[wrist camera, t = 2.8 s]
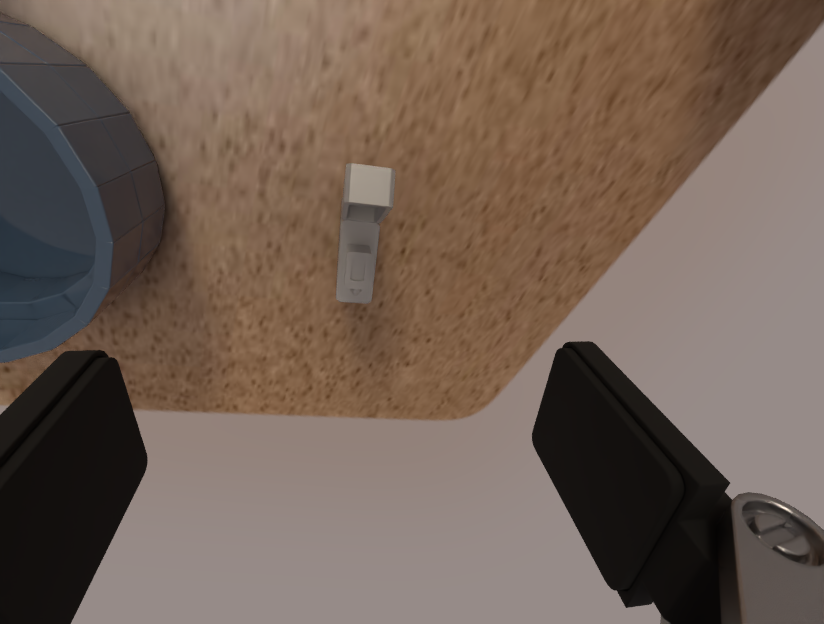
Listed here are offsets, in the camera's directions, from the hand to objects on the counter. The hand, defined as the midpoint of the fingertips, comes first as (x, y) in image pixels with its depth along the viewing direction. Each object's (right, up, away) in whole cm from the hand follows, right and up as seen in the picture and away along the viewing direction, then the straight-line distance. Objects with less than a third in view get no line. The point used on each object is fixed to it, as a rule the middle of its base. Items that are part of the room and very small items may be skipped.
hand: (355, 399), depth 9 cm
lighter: (-2, +8, +13) cm, 16 cm away
